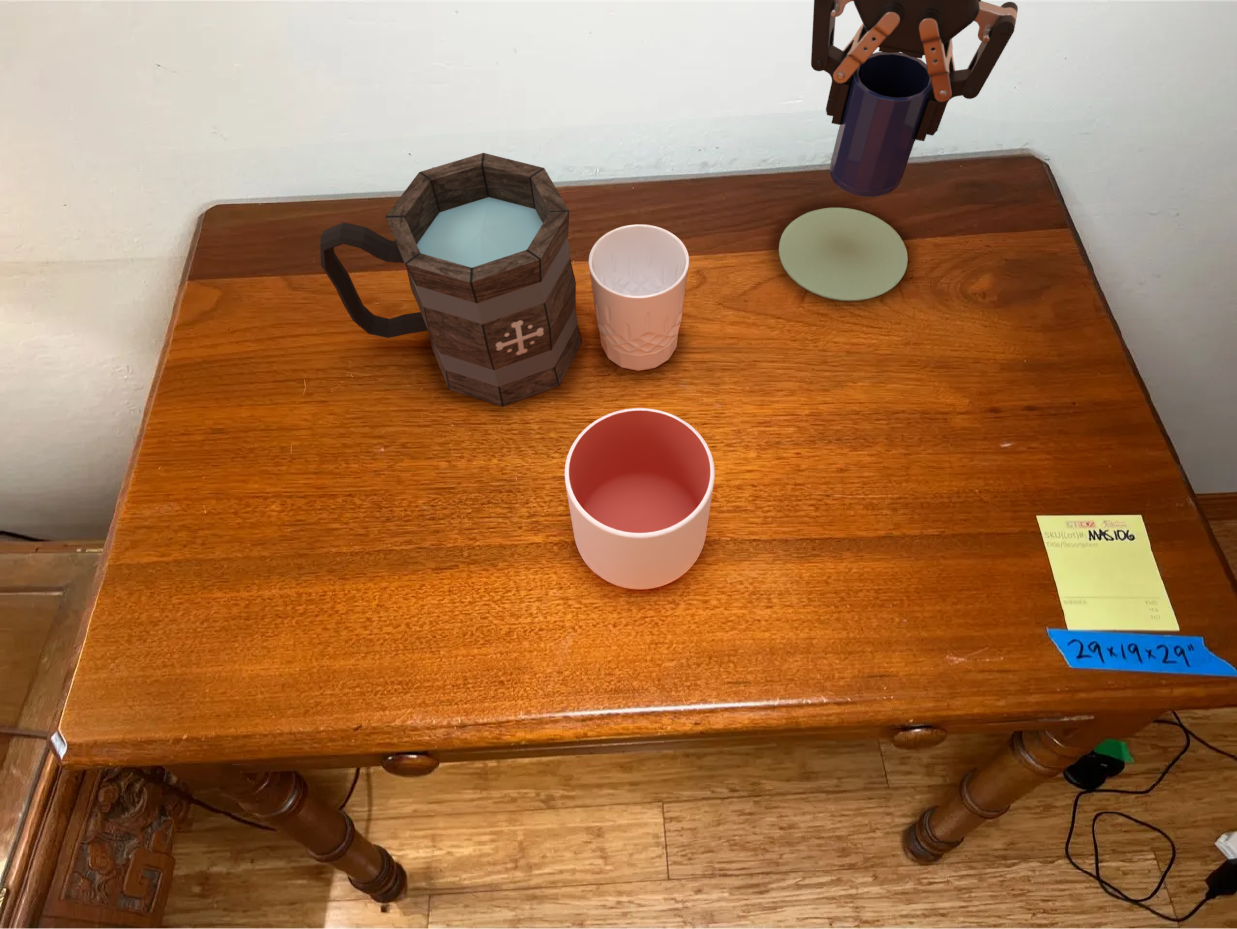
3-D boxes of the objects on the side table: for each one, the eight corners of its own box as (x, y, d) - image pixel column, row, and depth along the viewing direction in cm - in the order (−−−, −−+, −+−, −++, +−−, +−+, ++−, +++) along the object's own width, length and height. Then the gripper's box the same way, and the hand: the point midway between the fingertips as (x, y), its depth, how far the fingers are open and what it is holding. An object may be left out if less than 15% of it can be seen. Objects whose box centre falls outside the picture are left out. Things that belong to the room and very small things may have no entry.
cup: (729, 518, 63) (742, 450, 54) (659, 620, 59) (662, 565, 50) (622, 457, 66) (619, 384, 58) (549, 550, 62) (534, 487, 53)
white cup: (597, 306, 74) (591, 223, 66) (683, 308, 74) (688, 224, 65) (592, 376, 70) (585, 296, 62) (683, 377, 70) (689, 298, 61)
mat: (916, 223, 79) (916, 222, 79) (895, 314, 73) (896, 312, 73) (794, 198, 81) (794, 196, 81) (765, 284, 75) (765, 282, 75)
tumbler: (906, 157, 70) (939, 59, 62) (895, 203, 67) (928, 107, 59) (837, 143, 71) (861, 45, 63) (822, 188, 68) (846, 91, 60)
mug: (582, 285, 76) (570, 149, 63) (582, 404, 69) (568, 279, 56) (373, 291, 76) (318, 158, 63) (351, 411, 69) (285, 288, 56)
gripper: (820, -94, 50) (780, 138, 65) (1064, -60, 47) (965, 175, 62) (843, -150, 54) (800, 82, 68) (1071, -121, 51) (976, 114, 65)
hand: (879, 125), depth 65 cm, fingers closed on tumbler, 6 cm apart
